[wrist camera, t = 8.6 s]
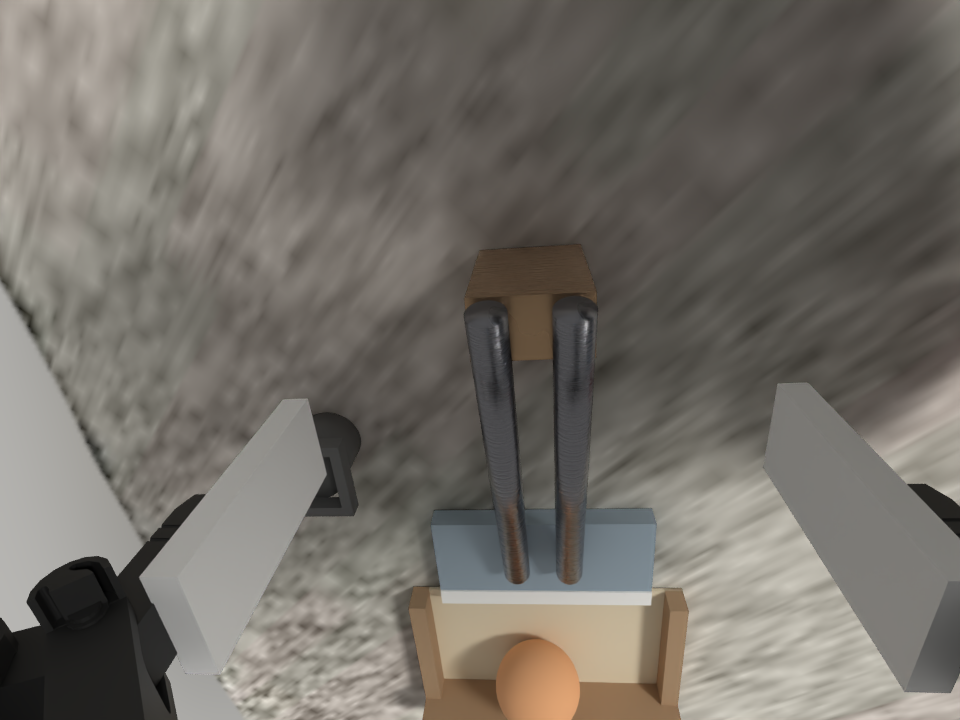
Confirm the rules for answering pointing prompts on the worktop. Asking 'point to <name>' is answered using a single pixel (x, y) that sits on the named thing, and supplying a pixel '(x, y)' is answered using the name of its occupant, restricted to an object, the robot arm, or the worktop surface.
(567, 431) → the ramp
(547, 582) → the block
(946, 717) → the worktop surface
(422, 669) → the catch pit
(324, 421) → the tee
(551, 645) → the ball
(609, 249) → the worktop surface
